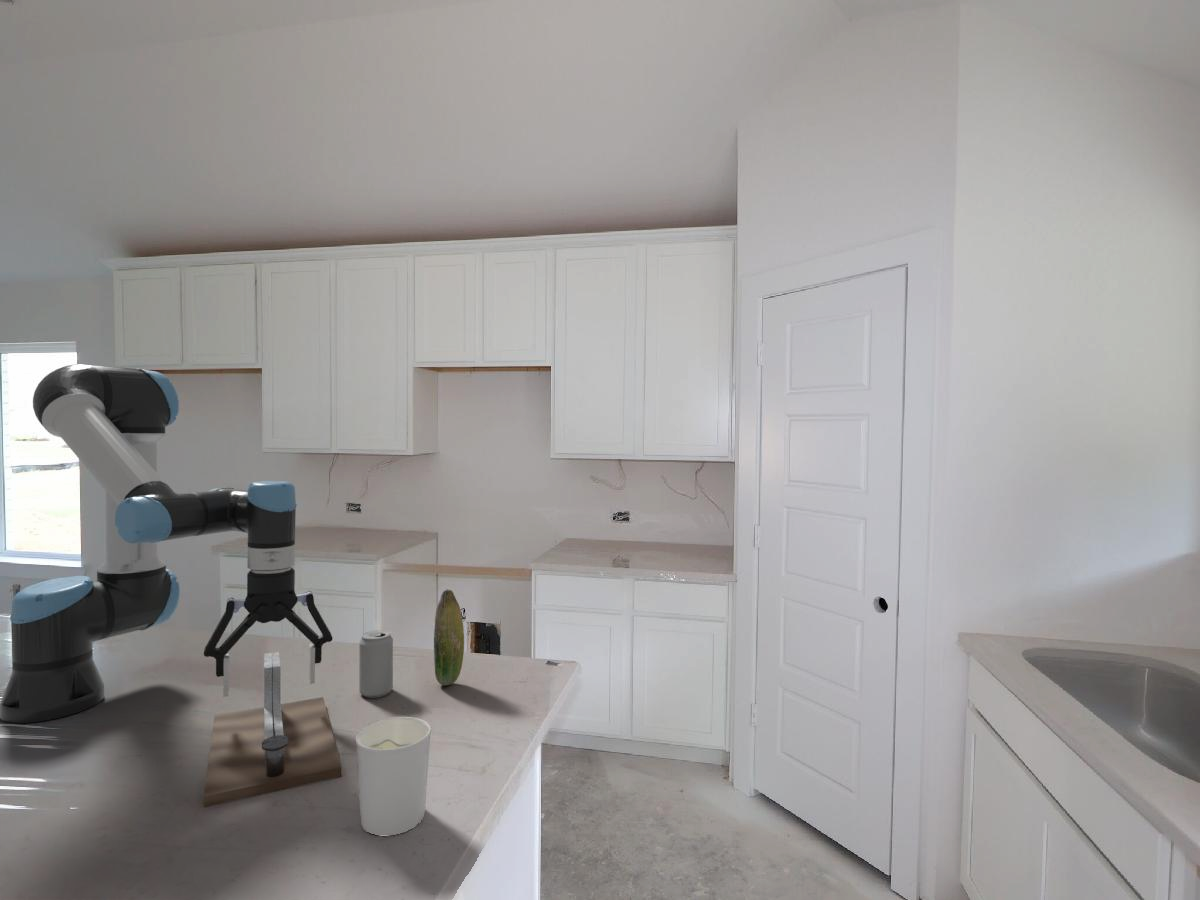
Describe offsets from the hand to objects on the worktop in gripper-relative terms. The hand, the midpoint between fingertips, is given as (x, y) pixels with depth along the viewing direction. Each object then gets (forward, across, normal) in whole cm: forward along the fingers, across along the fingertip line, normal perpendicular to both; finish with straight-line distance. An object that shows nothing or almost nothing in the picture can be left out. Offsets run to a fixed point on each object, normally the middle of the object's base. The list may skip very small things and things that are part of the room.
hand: (270, 687), depth 116 cm
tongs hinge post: (+5, 0, -21) cm, 22 cm away
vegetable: (+7, +33, +4) cm, 34 cm away
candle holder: (+7, +14, -38) cm, 41 cm away
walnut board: (+7, 0, -9) cm, 12 cm away
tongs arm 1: (+5, 0, -8) cm, 9 cm away
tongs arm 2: (+5, +1, -8) cm, 9 cm away
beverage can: (+7, +19, +7) cm, 22 cm away
